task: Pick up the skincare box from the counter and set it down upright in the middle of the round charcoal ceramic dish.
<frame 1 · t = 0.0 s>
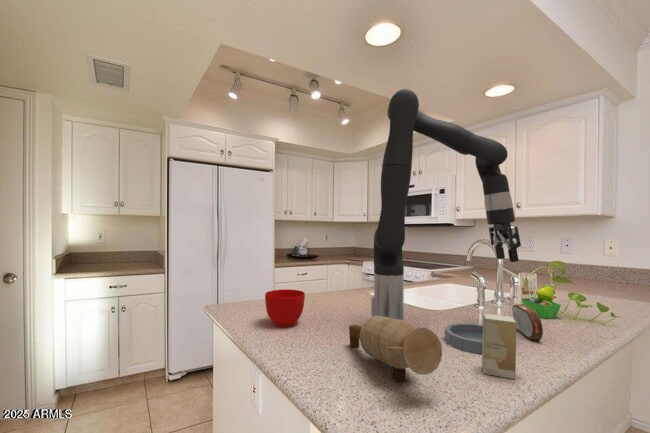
hand: (507, 260, 95), 22 cm above the countertop, tool pointing down, fingers open, 8 cm apart
wooden log toy: (387, 369, 70), on the countertop
round dish: (476, 343, 86), on the countertop
ceramic cup: (283, 322, 104), on the countertop
skincare box: (498, 373, 68), on the countertop
tin: (526, 335, 94), on the countertop
fruit basket: (541, 315, 116), on the countertop
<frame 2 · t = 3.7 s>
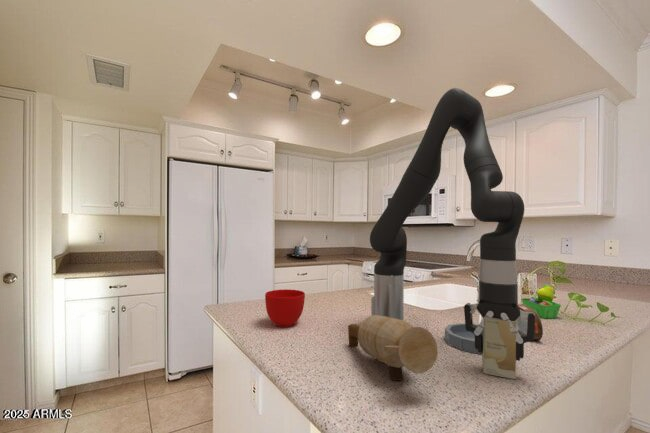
hand: (498, 355, 69), 4 cm above the countertop, tool pointing down, fingers closed on skincare box, 6 cm apart
skincare box: (499, 373, 68), on the countertop, touching gripper
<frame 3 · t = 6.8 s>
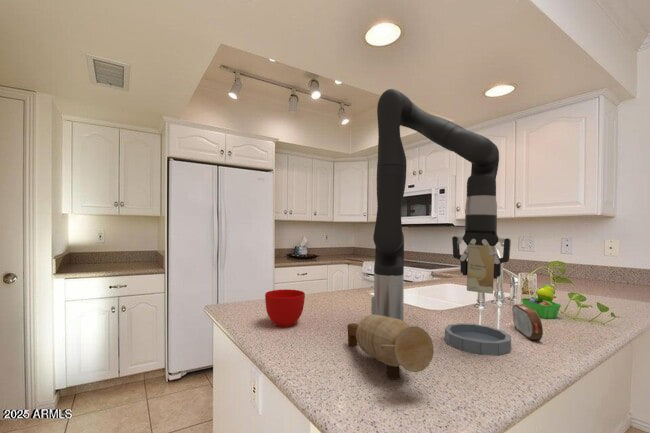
hand: (479, 276, 82), 19 cm above the countertop, tool pointing down, fingers closed on skincare box, 6 cm apart
skincare box: (480, 292, 81), point 15 cm above the countertop, touching gripper
when the fingers open (6 cm above the countertop, at t = 9.6 s): skincare box drops 1 cm, resting on round dish.
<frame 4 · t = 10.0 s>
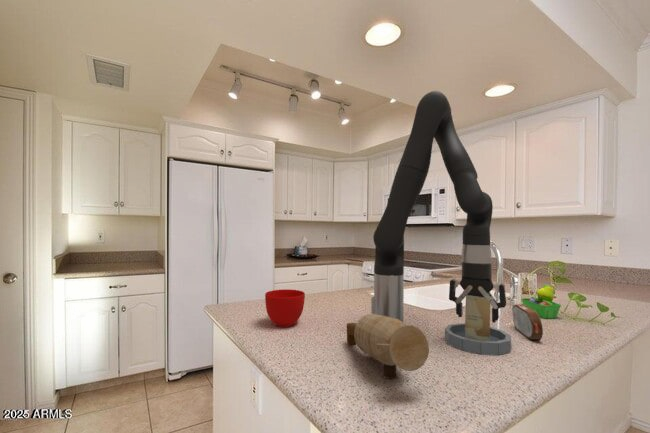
hand: (476, 319, 87), 7 cm above the countertop, tool pointing down, fingers open, 8 cm apart
skincare box: (477, 340, 86), point 1 cm above the countertop, touching round dish
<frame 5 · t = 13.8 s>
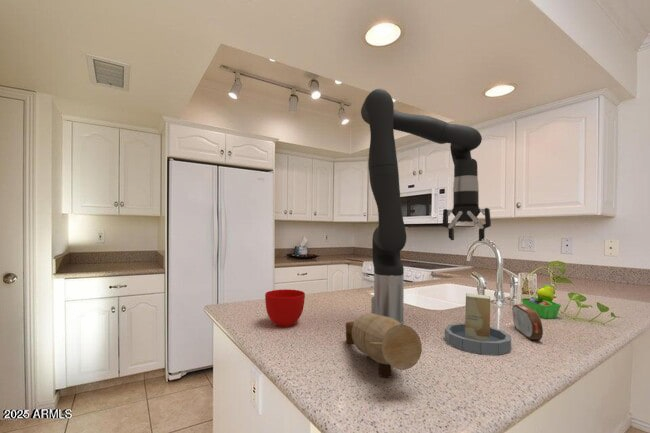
hand: (466, 240, 101), 28 cm above the countertop, tool pointing down, fingers open, 8 cm apart
at the end: skincare box inside the target area on the round dish (0.2 cm from its centre), point 0.8 cm above the round dish's base; skincare box tilted 0°; the gripper is holding nothing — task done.
